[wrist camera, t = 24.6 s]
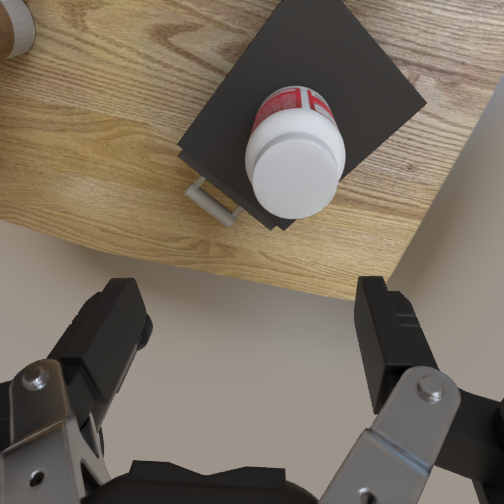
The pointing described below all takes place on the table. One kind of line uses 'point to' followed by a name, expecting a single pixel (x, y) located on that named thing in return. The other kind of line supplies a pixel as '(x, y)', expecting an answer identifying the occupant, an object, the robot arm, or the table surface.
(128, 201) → the table surface
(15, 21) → the coffee cup
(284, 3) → the dark grey drawer box
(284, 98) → the pill bottle
